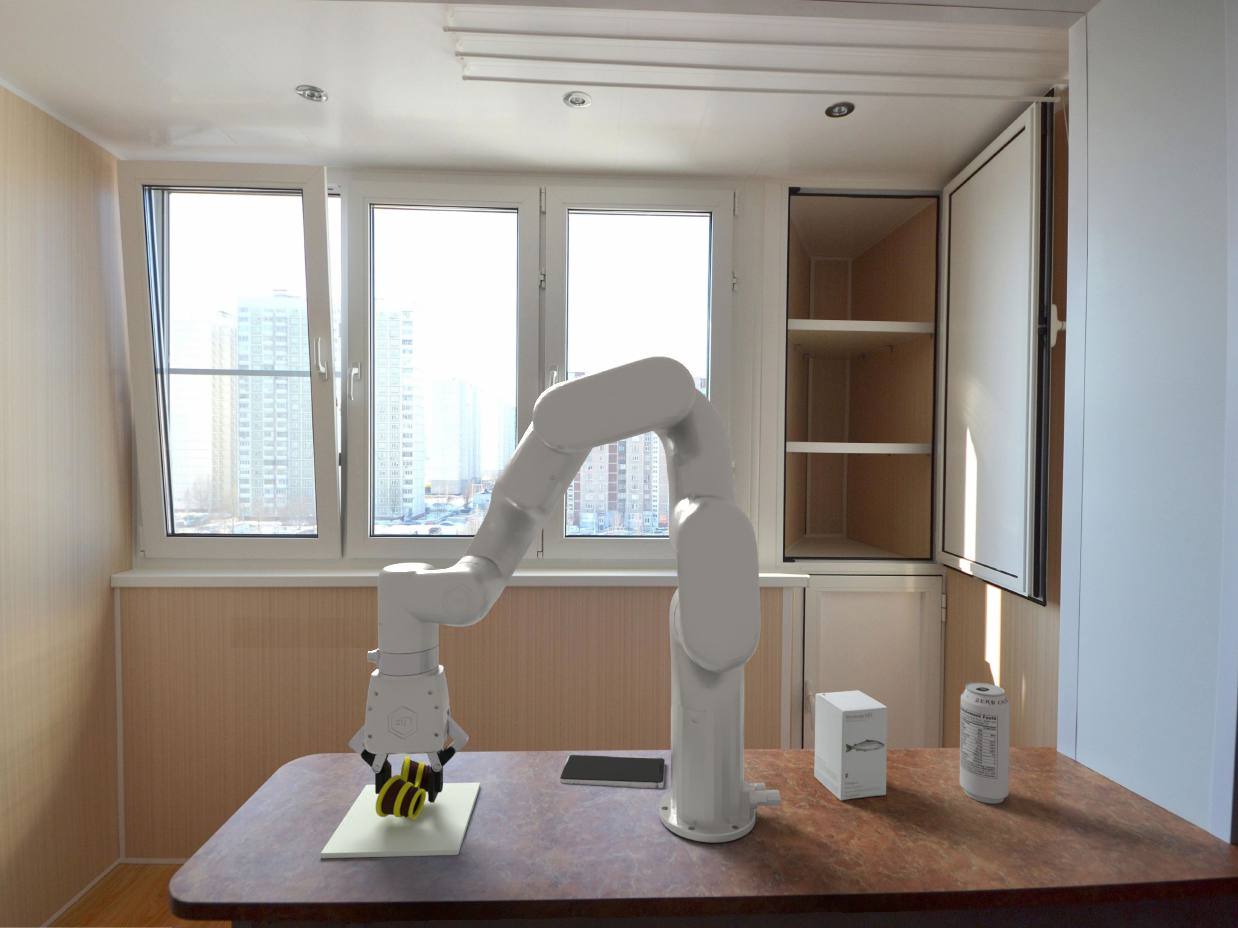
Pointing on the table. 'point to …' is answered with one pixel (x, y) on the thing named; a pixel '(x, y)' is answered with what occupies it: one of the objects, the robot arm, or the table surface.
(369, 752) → the robot arm
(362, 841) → the mat
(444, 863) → the table surface
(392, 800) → the opera glasses
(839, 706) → the supplement box
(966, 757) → the energy drink can
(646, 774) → the smartphone
